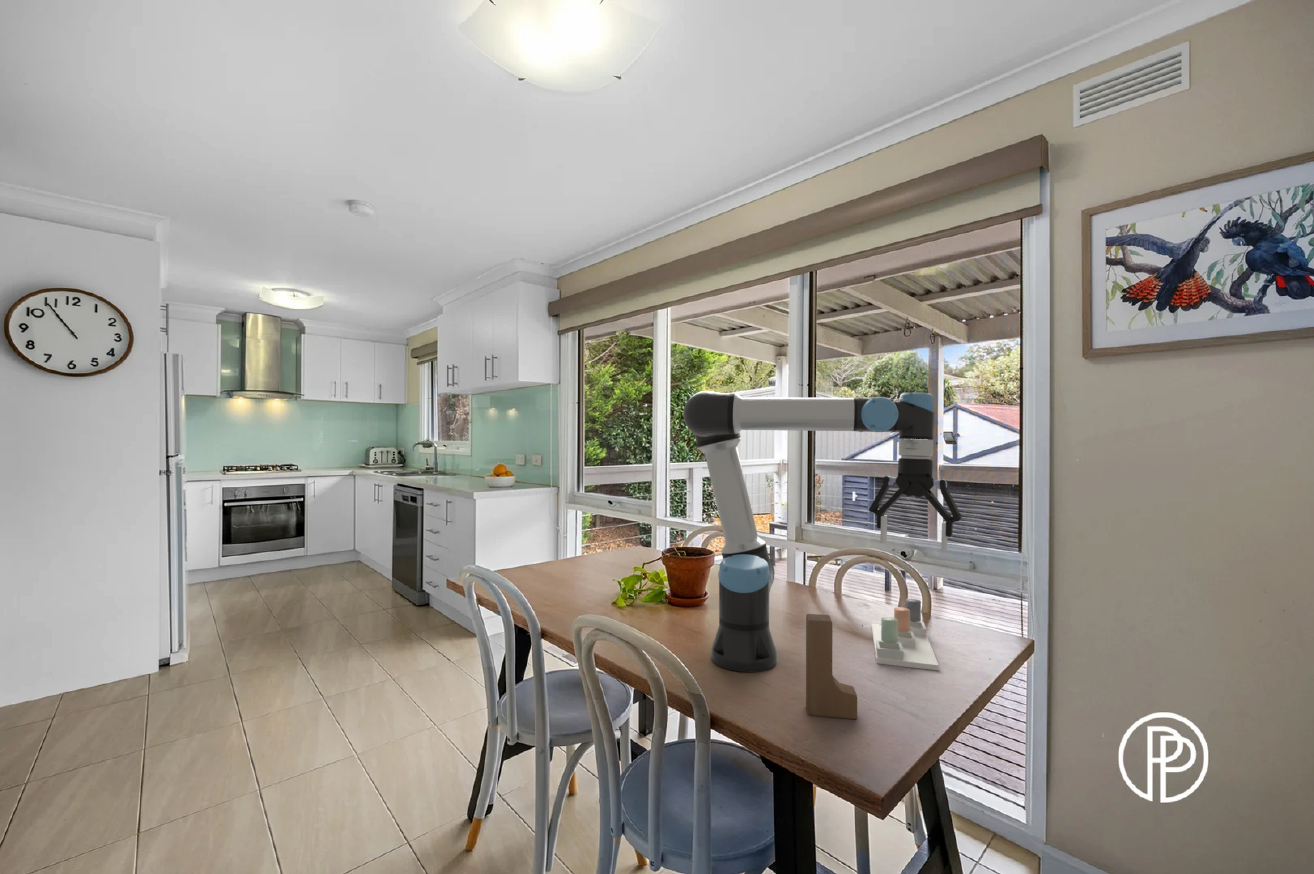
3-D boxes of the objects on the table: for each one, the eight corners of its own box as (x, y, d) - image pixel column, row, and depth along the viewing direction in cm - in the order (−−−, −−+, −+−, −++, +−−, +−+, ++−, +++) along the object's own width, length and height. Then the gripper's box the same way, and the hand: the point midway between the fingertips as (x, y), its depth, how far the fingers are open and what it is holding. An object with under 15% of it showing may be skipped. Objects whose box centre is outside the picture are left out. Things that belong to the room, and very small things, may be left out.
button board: (876, 663, 132) (876, 649, 132) (871, 627, 156) (871, 616, 156) (938, 670, 128) (938, 656, 128) (923, 633, 152) (923, 621, 152)
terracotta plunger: (894, 631, 141) (894, 610, 141) (893, 626, 144) (893, 606, 144) (910, 632, 140) (910, 612, 140) (908, 627, 143) (909, 607, 143)
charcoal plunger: (906, 621, 148) (906, 601, 148) (904, 616, 152) (905, 598, 152) (921, 622, 147) (921, 603, 147) (919, 618, 150) (919, 599, 150)
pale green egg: (881, 642, 133) (881, 620, 133) (880, 636, 137) (880, 616, 137) (898, 643, 132) (898, 622, 132) (897, 638, 136) (897, 617, 135)
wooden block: (853, 708, 110) (854, 615, 110) (857, 720, 106) (858, 623, 106) (805, 704, 112) (806, 613, 112) (807, 715, 107) (807, 620, 107)
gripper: (857, 455, 141) (855, 541, 141) (971, 460, 126) (968, 556, 126) (867, 454, 147) (865, 537, 147) (977, 459, 132) (974, 551, 132)
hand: (912, 546), depth 137 cm, fingers open, 13 cm apart
